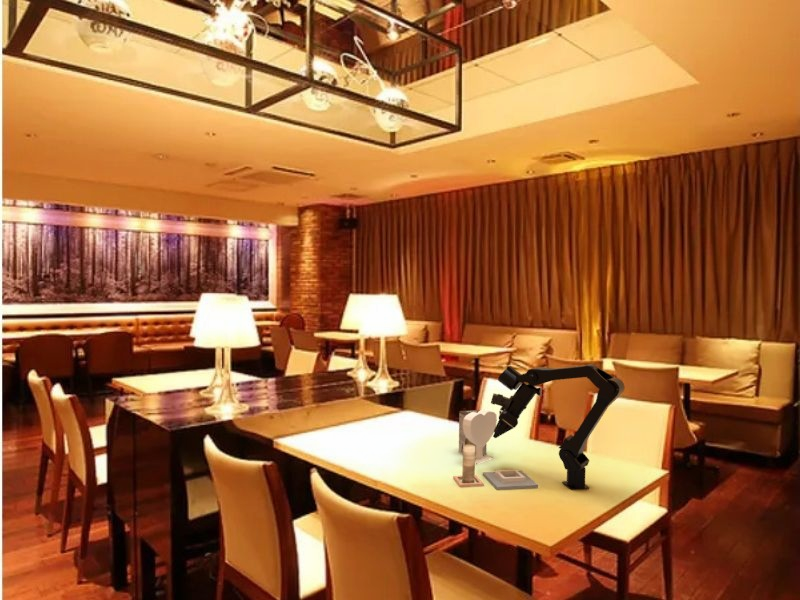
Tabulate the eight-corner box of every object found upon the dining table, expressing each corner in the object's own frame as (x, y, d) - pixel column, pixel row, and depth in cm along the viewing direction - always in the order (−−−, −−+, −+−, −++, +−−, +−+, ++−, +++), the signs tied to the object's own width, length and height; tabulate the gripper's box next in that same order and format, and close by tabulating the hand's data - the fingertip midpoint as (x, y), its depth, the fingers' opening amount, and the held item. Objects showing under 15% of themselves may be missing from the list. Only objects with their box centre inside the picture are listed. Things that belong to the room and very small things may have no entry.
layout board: (538, 488, 185) (538, 480, 185) (497, 490, 183) (497, 482, 183) (521, 473, 199) (521, 466, 199) (482, 475, 196) (482, 467, 196)
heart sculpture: (486, 454, 220) (488, 407, 219) (497, 457, 216) (498, 410, 216) (460, 462, 209) (461, 413, 209) (471, 466, 206) (472, 416, 205)
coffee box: (479, 450, 225) (480, 409, 225) (486, 455, 219) (487, 413, 218) (457, 451, 223) (459, 410, 222) (464, 456, 217) (465, 414, 216)
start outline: (483, 485, 186) (483, 483, 186) (460, 487, 185) (460, 484, 185) (476, 477, 194) (476, 475, 194) (453, 478, 192) (453, 476, 192)
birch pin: (476, 484, 188) (477, 447, 187) (464, 484, 187) (465, 448, 186) (472, 479, 192) (473, 444, 191) (460, 480, 191) (461, 444, 190)
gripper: (502, 382, 208) (476, 416, 209) (501, 387, 190) (473, 424, 191) (527, 400, 206) (502, 435, 207) (529, 407, 188) (501, 445, 189)
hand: (494, 434), depth 198 cm, fingers open, 9 cm apart
